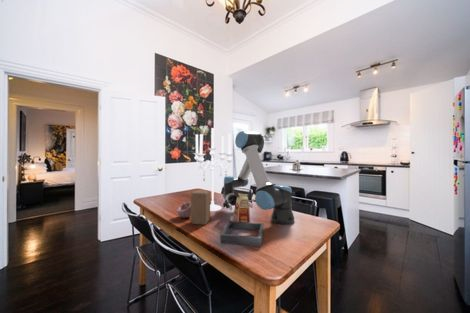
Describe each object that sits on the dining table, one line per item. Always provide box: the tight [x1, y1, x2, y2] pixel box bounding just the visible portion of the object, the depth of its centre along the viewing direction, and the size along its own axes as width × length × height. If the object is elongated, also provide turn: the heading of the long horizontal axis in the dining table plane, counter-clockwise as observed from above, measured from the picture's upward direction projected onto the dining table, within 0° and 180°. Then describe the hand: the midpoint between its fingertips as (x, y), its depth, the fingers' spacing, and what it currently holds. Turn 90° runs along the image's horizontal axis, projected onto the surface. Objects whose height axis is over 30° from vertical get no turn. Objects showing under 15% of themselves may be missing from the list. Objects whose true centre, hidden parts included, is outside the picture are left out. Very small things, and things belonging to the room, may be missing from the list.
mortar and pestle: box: [175, 200, 191, 219], centre depth 134 cm, size 12×12×12 cm
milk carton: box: [232, 192, 251, 223], centre depth 121 cm, size 9×9×20 cm
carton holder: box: [220, 220, 265, 248], centre depth 104 cm, size 20×20×4 cm
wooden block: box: [190, 189, 211, 226], centre depth 125 cm, size 10×10×20 cm
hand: (241, 207), depth 120 cm, fingers open, 13 cm apart
